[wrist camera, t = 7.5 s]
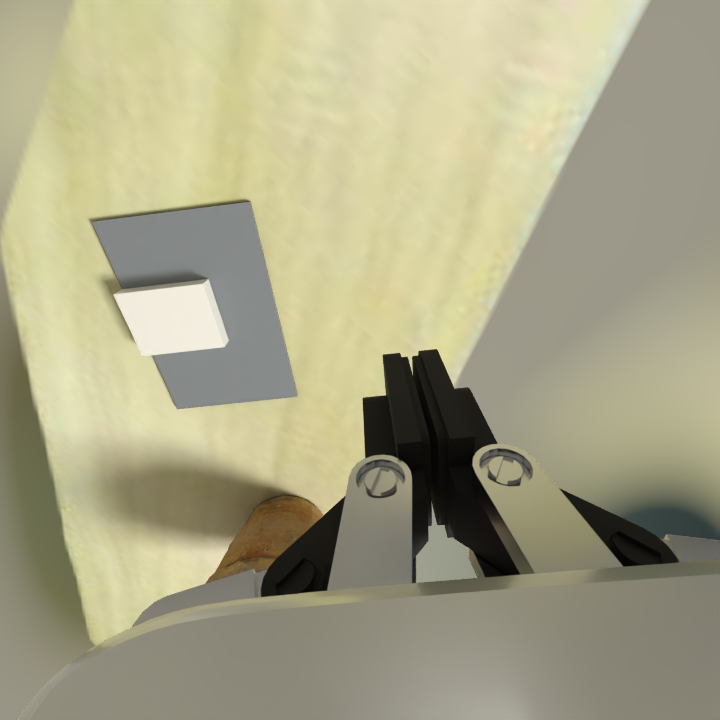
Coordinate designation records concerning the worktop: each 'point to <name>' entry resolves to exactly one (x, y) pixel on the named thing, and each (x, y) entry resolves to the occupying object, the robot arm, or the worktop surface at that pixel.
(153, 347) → the tile
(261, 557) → the potted plant
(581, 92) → the worktop surface
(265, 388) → the mat
